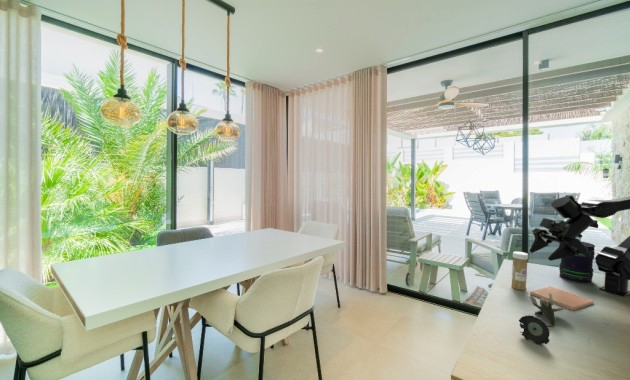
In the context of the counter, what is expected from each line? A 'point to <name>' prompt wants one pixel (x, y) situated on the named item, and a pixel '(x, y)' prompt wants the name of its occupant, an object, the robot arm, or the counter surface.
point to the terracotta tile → (562, 298)
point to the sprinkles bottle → (519, 270)
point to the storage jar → (578, 266)
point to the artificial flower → (539, 321)
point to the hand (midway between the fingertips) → (539, 255)
